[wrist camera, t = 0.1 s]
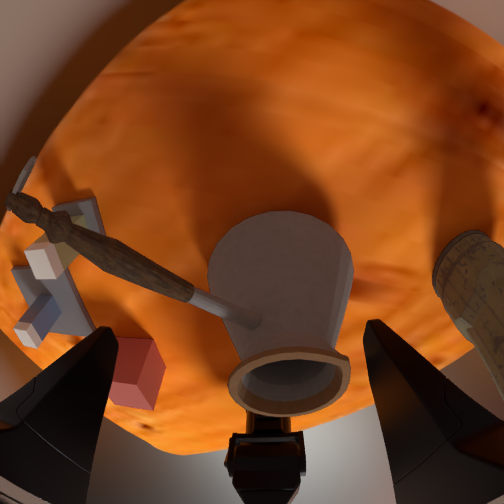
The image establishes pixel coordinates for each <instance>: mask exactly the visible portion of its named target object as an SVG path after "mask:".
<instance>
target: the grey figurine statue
mask: <svg viewBox="0 0 504 504" xmlns="http://www.w3.org/2000/svg"><path fill="white" fill-rule="evenodd" d="M432 285H433V287H434V290H435V293H436V294H437V295H438V297H440V299H441V300H442V303H443V305H444V308H445V310H446V312H447V313H448V315H449V316H450V318H451V319H452V321H453V323H454V324H455V326H456V327H457V329H458V330H459V331H460V332H461V333H462V335H463V336H464V337H465V338H466V339H467V340H468V341H470V342H471V343H473V344H474V346H475V348H476V350H477V351H478V353H479V355H480V356H481V358H482V360H483V362H484V364H485V365H486V367H487V369H488V371H489V373H490V375H491V377H492V379H493V380H494V382H495V384H496V386H497V388H498V390H499V392H500V394H501V397H502V398H503V400H504V248H503V247H502V246H501V245H500V244H498V243H496V242H494V241H492V240H491V239H490V238H489V237H488V236H487V235H486V234H484V233H483V232H481V231H479V230H469V231H467V232H465V233H462V234H460V235H458V236H457V237H456V238H455V239H453V240H452V241H451V242H450V243H449V244H448V245H447V246H446V248H445V249H444V250H443V251H442V253H441V255H440V256H439V258H438V260H437V262H436V264H435V268H434V271H433V275H432Z"/></svg>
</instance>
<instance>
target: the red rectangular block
mask: <svg viewBox="0 0 504 504" xmlns="http://www.w3.org/2000/svg"><path fill="white" fill-rule="evenodd" d="M116 339H117V341H118V343H119V350H118V355H117V360H116V365H115V371H114V376H113V381H112V385H111V389H110V392H109V396H108V397H109V398H110V399H111V400H112V402H113V403H114V404H115V405H120V406H126V407H132V408H138V409H145V410H152V411H154V407H155V403H156V400H157V396H158V393H159V389H160V386H161V382H162V379H163V375H164V372H165V369H166V366H165V364H164V362H163V360H162V358H161V356H160V353H159V351H158V349H157V346H156V344H155V342H154V340H153V339H141V338H125V337H116Z"/></svg>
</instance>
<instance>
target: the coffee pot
mask: <svg viewBox="0 0 504 504" xmlns="http://www.w3.org/2000/svg"><path fill="white" fill-rule="evenodd" d="M36 159H37V158H36V157H35V156H32V157H31V158H30V160H29V161H28V163H27V164H26V166H25V167H24V169H23V171H22V172H21V174H20V176H19V178H18V180H17V182H16V184H15V186H14V189H11V191H10V192H9V194H8V196H7V198H6V201H5V205H6V206H7V210H9V211H11V210H12V212H13V213H14V214H15V215H16V216H18V217H19V218H20V219H21V220H22V221H24V222H25V223H36V226H38V227H40V228H42V229H43V230H44V231H45V233H46V236H47V238H48V240H49V242H50V243H52V244H56V243H60V242H65V243H66V244H67V245H69V246H70V247H71V248H73V249H74V250H75V251H77V252H78V253H80V254H81V255H82V256H84V257H85V258H87V259H88V260H89V261H91V262H92V263H94V264H95V265H96V266H98V267H99V268H100V269H102V270H103V271H105V272H107V273H110V274H112V275H114V276H117V277H119V278H122V279H124V280H127V281H129V282H132V283H134V284H137V285H139V286H142V287H144V288H147V289H149V290H152V291H155V292H157V293H160V294H163V295H165V296H168V297H171V298H173V299H176V300H179V301H182V302H185V303H186V302H188V303H190V304H192V305H195V306H197V307H199V308H201V309H203V310H205V311H208V312H210V313H212V314H214V315H217V316H219V317H221V318H222V320H223V323H224V325H225V327H226V329H227V331H228V333H229V336H230V338H231V340H232V342H233V344H234V346H235V348H236V350H237V353H238V355H239V357H240V359H241V361H242V362H241V363H239V364H238V365H237V366H236V368H235V369H234V370H233V371H232V373H231V374H230V376H229V380H228V384H227V385H228V389H229V393H230V396H231V397H232V398H233V399H234V401H235V402H236V403H237V404H239V405H240V406H241V407H243V408H244V409H247V410H249V411H251V412H254V413H257V414H261V415H266V416H274V417H293V416H300V415H305V414H309V413H313V412H316V411H319V410H321V409H323V408H325V407H327V406H329V405H331V404H333V403H334V402H335V401H336V400H338V399H339V398H340V397H341V396H342V395H343V394H344V392H345V391H346V390H347V387H348V384H349V381H350V372H351V367H350V362H349V358H348V357H347V356H345V355H342V354H340V353H339V352H338V351H336V350H335V346H336V342H337V339H338V335H339V332H340V329H341V325H342V321H343V318H344V314H345V310H346V307H347V303H348V299H349V295H350V291H351V287H352V280H353V273H354V269H353V263H352V257H351V253H350V251H349V249H348V247H347V245H346V243H345V241H344V239H343V238H342V237H341V236H340V235H339V234H338V233H337V232H336V231H335V230H334V229H333V228H332V227H331V226H330V225H329V224H327V223H325V222H323V221H321V220H320V219H318V218H316V217H314V216H312V215H309V214H304V213H300V212H295V211H269V212H265V213H262V214H258V215H255V216H252V217H249V218H247V219H245V220H244V221H242V222H240V223H239V224H237V225H235V226H234V227H232V228H231V229H230V230H229V231H228V232H227V233H226V234H225V235H224V236H223V237H222V238H221V240H220V241H219V242H218V243H217V245H216V247H215V249H214V251H213V253H212V255H211V257H210V259H209V266H208V273H207V278H208V284H209V289H210V294H209V293H207V292H205V291H203V290H200V289H198V288H196V287H194V285H192V284H191V283H189V282H187V281H186V280H184V279H182V278H180V277H179V276H177V275H175V274H174V273H172V272H170V271H168V270H167V269H165V268H163V267H162V266H160V265H158V264H156V263H155V262H153V261H151V260H150V259H148V258H146V257H145V256H143V255H142V254H140V253H138V252H137V251H135V250H133V249H132V248H130V247H128V246H127V245H125V244H124V243H122V242H120V241H119V240H117V239H114V238H111V237H107V236H105V235H102V234H100V233H97V232H94V231H92V230H89V229H87V228H84V227H82V226H79V225H77V224H73V223H72V220H71V218H70V215H69V213H68V212H67V211H66V210H61V211H56V212H52V211H50V210H48V209H47V208H45V207H44V208H43V207H42V205H41V204H40V202H39V201H38V200H37V199H36V198H34V197H32V196H29V195H27V194H25V193H22V192H21V191H22V189H23V187H24V185H25V183H26V181H27V179H28V177H29V175H30V173H31V171H32V169H33V167H34V164H35V162H36Z"/></svg>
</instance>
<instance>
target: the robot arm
mask: <svg viewBox="0 0 504 504" xmlns="http://www.w3.org/2000/svg"><path fill="white" fill-rule="evenodd" d="M363 345H364V351H365V357H366V363H367V370H368V376H369V382H370V386H371V390H372V393H373V397H374V401H375V405H376V408H377V413H378V417H379V420H380V425H381V429H382V433H383V437H384V442H385V446H386V451H387V455H388V460H389V465H390V470H391V475H392V480H393V484H394V486H393V487H394V492H395V498H396V503H397V504H504V421H503V420H501V419H499V418H498V417H496V416H495V415H493V414H492V413H491V412H489V411H488V410H487V409H485V408H484V407H483V406H481V405H480V404H478V403H477V402H476V401H474V400H473V399H472V398H470V397H469V396H468V395H467V394H465V393H464V392H463V391H462V390H460V389H459V388H458V387H457V386H456V385H455V384H454V383H452V382H451V381H450V380H449V379H448V378H447V379H446V376H445V375H443V374H442V373H441V372H440V371H439V370H438V369H437V368H436V367H434V366H433V365H432V364H431V363H430V362H429V361H428V360H426V359H425V358H424V357H423V356H422V355H421V354H420V353H418V352H417V351H416V350H415V349H414V348H413V347H412V346H410V345H409V344H408V343H407V342H406V341H405V340H403V339H402V338H401V337H400V336H399V335H398V334H396V333H395V332H394V331H393V330H392V329H391V328H389V327H388V326H387V325H386V324H385V323H384V322H382V321H381V320H380V319H373V320H368V321H367V323H366V328H365V332H364V336H363ZM118 350H119V343H118V341H117V339H116V337H115V335H114V333H113V331H112V329H111V328H110V327H106V326H100V327H99V328H97V329H96V330H95V331H93V332H92V333H91V334H89V335H88V336H87V337H85V338H84V339H83V340H81V341H80V342H79V343H78V344H76V345H75V346H74V347H72V348H71V349H70V350H69V351H67V352H66V353H65V354H63V355H62V356H61V357H60V358H58V359H57V360H56V361H54V362H53V363H52V364H51V365H49V366H48V367H47V368H46V369H44V370H43V371H42V372H41V373H40V374H38V375H37V376H36V377H34V378H33V379H32V380H31V381H29V382H28V383H27V384H26V385H24V386H23V387H22V388H20V389H19V390H17V391H16V392H15V393H13V394H12V395H10V396H9V397H8V398H6V399H5V400H3V401H1V402H0V504H86V498H87V492H88V486H89V480H90V473H91V469H92V463H93V458H94V453H95V449H96V444H97V440H98V435H99V431H100V427H101V423H102V419H103V415H104V411H105V407H106V403H107V400H108V396H109V392H110V389H111V385H112V381H113V376H114V371H115V365H116V360H117V355H118ZM246 413H247V420H246V434H240V433H233V435H232V437H231V438H229V448H228V452H227V455H226V459H225V462H224V466H225V467H226V468H227V469H228V472H229V476H230V477H233V479H232V484H233V486H234V488H235V489H236V491H237V493H238V494H239V496H240V498H241V499H242V501H243V502H244V504H291V502H292V501H293V499H294V498H295V496H296V495H297V493H298V491H299V487H300V482H301V479H300V476H305V475H306V455H305V446H304V437H303V431H298V432H291V419H290V417H274V416H266V415H261V414H257V413H254V412H251V411H249V410H247V409H246Z"/></svg>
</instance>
